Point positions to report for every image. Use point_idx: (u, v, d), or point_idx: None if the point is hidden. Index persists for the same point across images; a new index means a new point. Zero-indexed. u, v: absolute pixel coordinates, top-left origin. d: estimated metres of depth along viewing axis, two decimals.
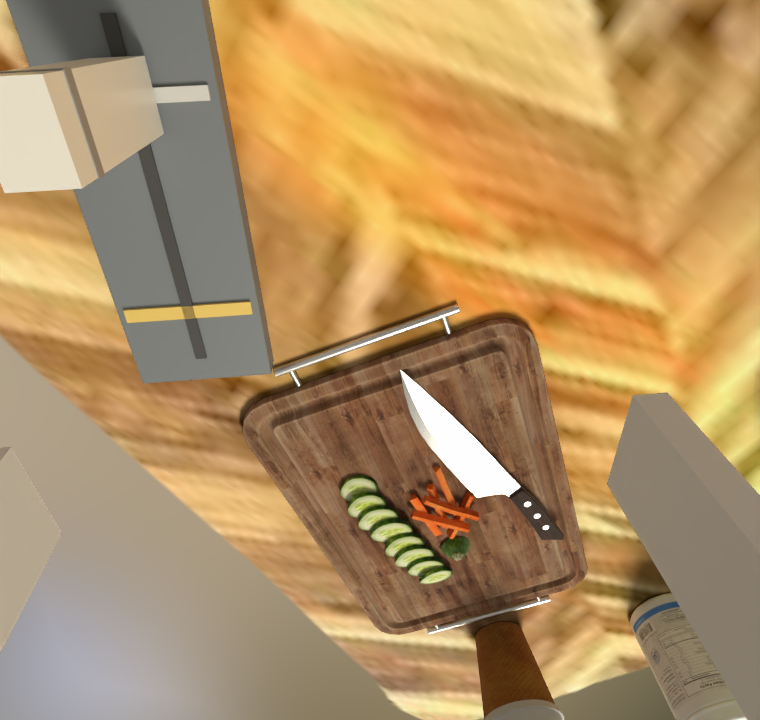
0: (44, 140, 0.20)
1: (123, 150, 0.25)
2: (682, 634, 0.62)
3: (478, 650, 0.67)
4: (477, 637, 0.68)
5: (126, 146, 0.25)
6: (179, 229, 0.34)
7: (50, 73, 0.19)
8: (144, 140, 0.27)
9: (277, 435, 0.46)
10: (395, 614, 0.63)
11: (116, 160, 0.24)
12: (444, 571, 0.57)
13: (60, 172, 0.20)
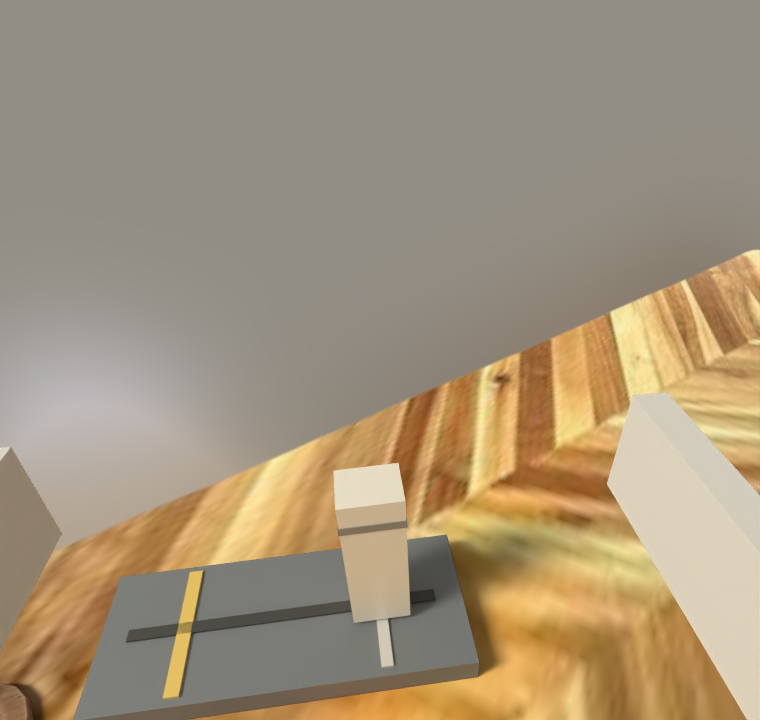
0: (366, 495, 0.30)
1: (350, 564, 0.32)
2: None
3: None
4: None
5: (352, 568, 0.32)
6: (270, 628, 0.37)
7: (405, 508, 0.30)
8: (353, 593, 0.34)
9: None
10: None
11: (345, 553, 0.32)
12: None
13: (346, 500, 0.30)
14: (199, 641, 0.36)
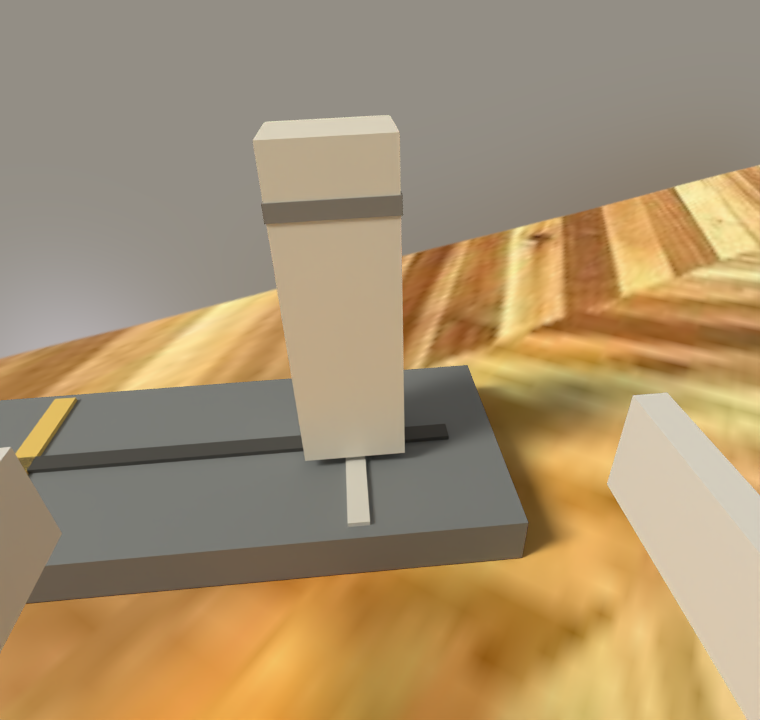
0: (320, 131, 0.15)
1: (292, 310, 0.17)
2: None
3: None
4: None
5: (297, 322, 0.17)
6: (162, 469, 0.21)
7: (398, 157, 0.15)
8: (301, 389, 0.19)
9: None
10: None
11: (281, 277, 0.16)
12: None
13: (278, 134, 0.15)
14: (38, 483, 0.21)
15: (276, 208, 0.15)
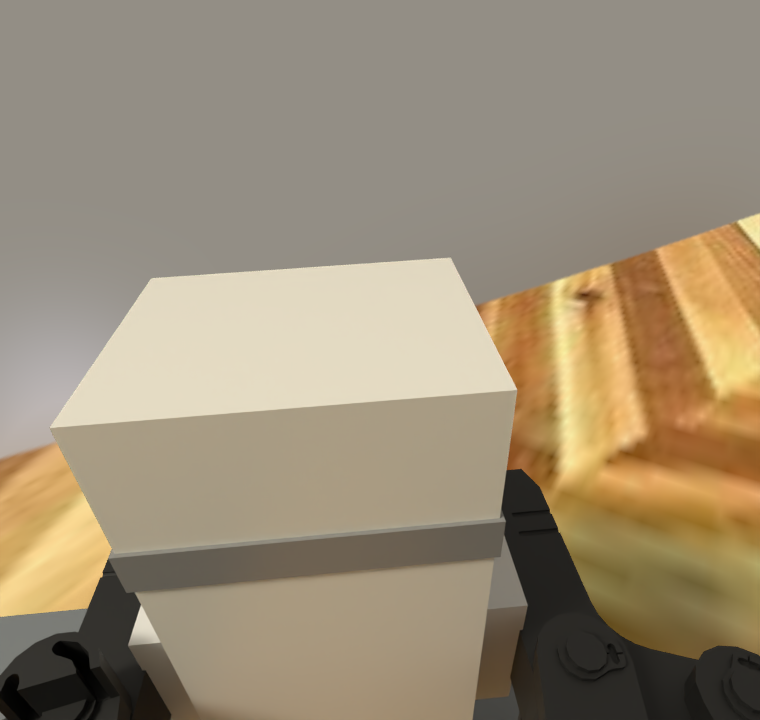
0: (275, 361, 0.05)
1: (225, 707, 0.07)
2: None
3: None
4: None
5: None
6: None
7: (506, 444, 0.05)
8: None
9: None
10: None
11: (190, 667, 0.07)
12: None
13: (148, 379, 0.05)
14: None
15: (155, 563, 0.05)
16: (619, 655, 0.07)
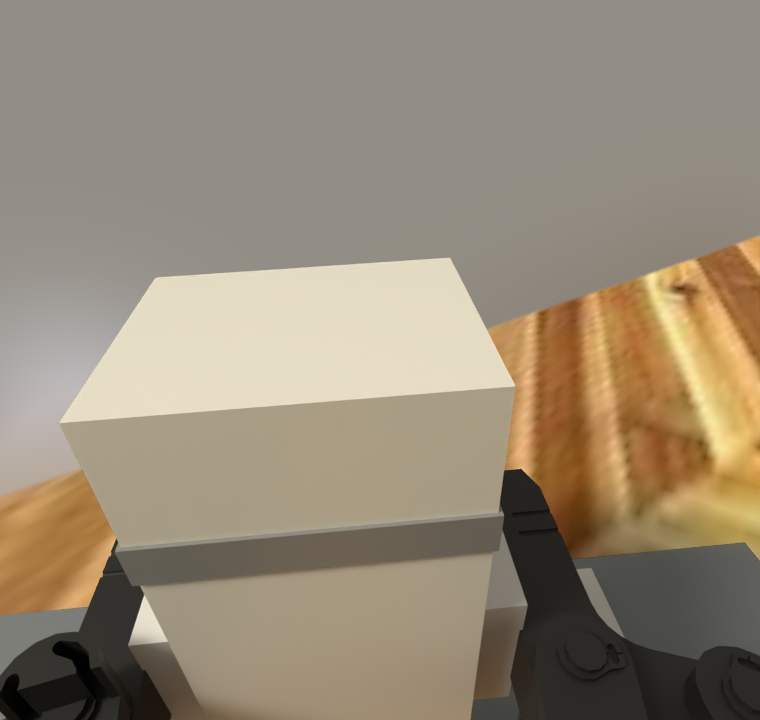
0: (279, 359, 0.05)
1: (227, 701, 0.07)
2: None
3: None
4: None
5: (239, 714, 0.08)
6: None
7: (504, 439, 0.05)
8: None
9: None
10: None
11: (193, 661, 0.07)
12: None
13: (155, 376, 0.05)
14: None
15: (160, 556, 0.05)
16: (619, 656, 0.07)
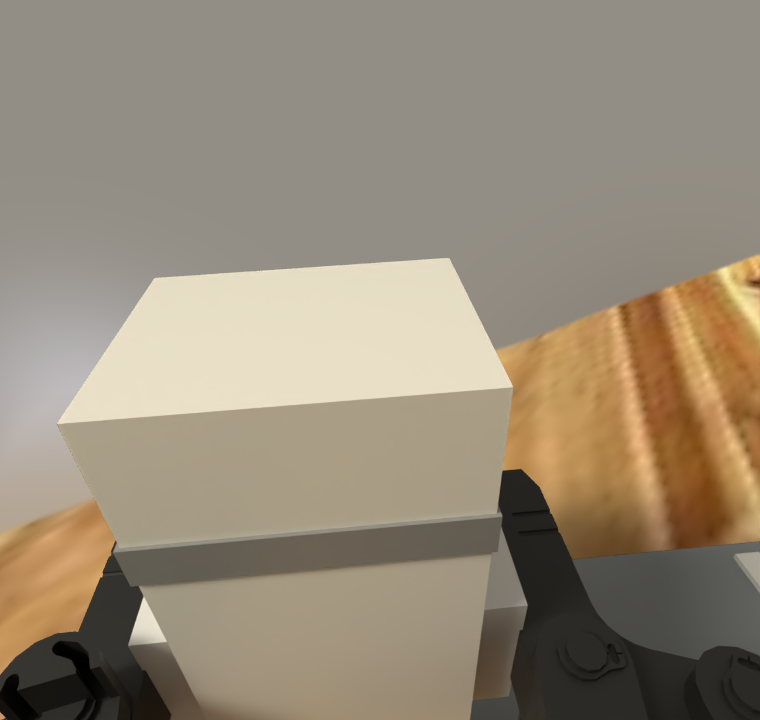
0: (277, 359, 0.05)
1: (226, 701, 0.07)
2: None
3: None
4: None
5: (239, 714, 0.08)
6: None
7: (502, 440, 0.05)
8: None
9: None
10: None
11: (192, 661, 0.07)
12: None
13: (153, 377, 0.05)
14: None
15: (159, 557, 0.05)
16: (619, 656, 0.07)
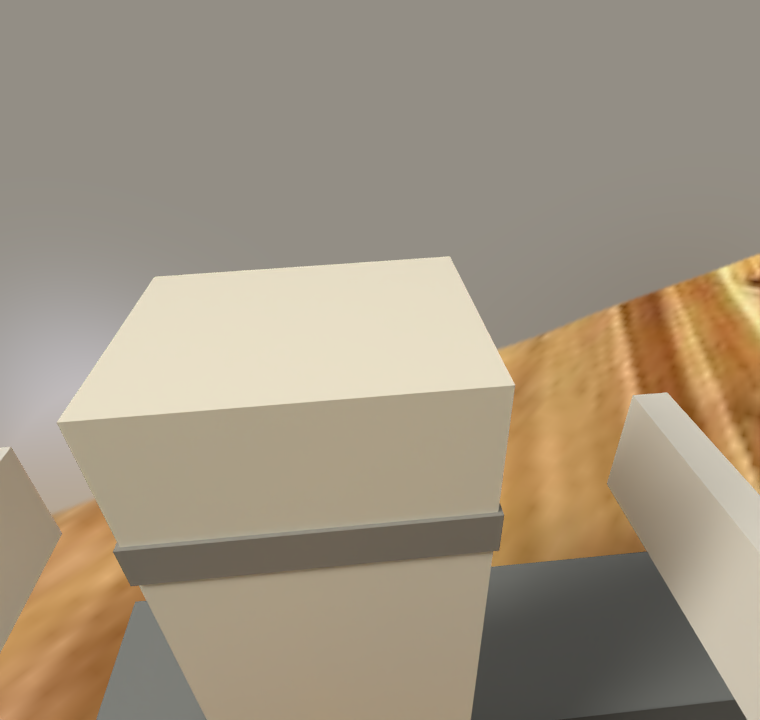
0: (277, 358, 0.05)
1: (227, 701, 0.07)
2: None
3: None
4: None
5: (239, 714, 0.08)
6: None
7: (504, 438, 0.05)
8: None
9: None
10: None
11: (192, 661, 0.07)
12: None
13: (153, 375, 0.05)
14: None
15: (159, 556, 0.05)
16: None
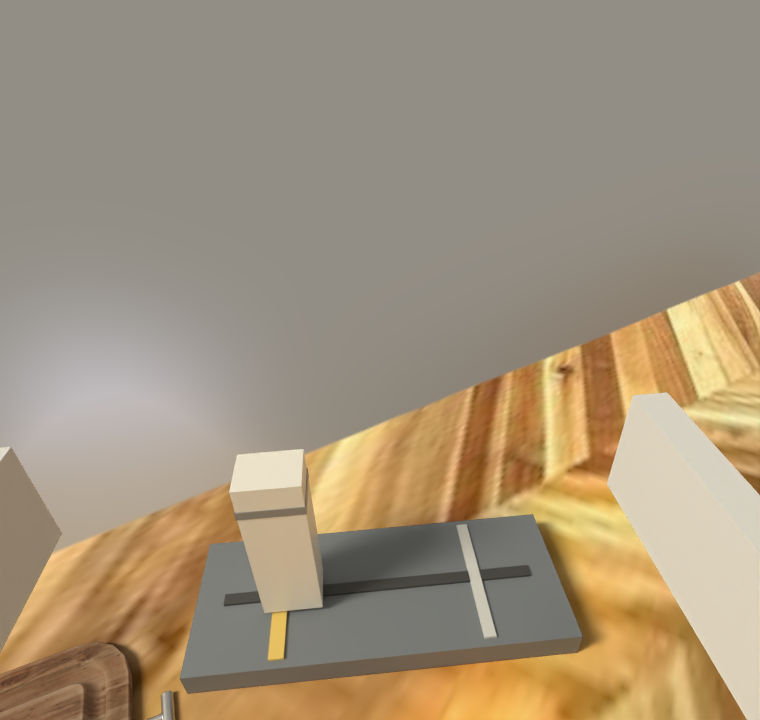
0: (263, 479, 0.30)
1: (252, 550, 0.32)
2: None
3: None
4: None
5: (255, 555, 0.32)
6: (366, 597, 0.37)
7: (302, 494, 0.29)
8: (259, 581, 0.33)
9: (67, 689, 0.33)
10: None
11: (246, 538, 0.31)
12: None
13: (242, 483, 0.29)
14: None
15: (242, 514, 0.30)
16: None
